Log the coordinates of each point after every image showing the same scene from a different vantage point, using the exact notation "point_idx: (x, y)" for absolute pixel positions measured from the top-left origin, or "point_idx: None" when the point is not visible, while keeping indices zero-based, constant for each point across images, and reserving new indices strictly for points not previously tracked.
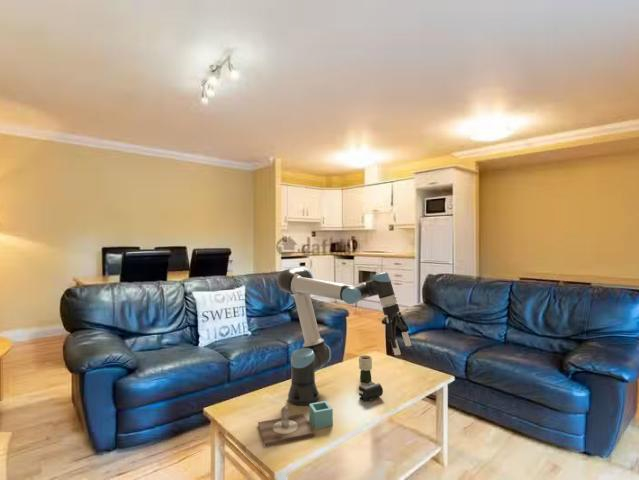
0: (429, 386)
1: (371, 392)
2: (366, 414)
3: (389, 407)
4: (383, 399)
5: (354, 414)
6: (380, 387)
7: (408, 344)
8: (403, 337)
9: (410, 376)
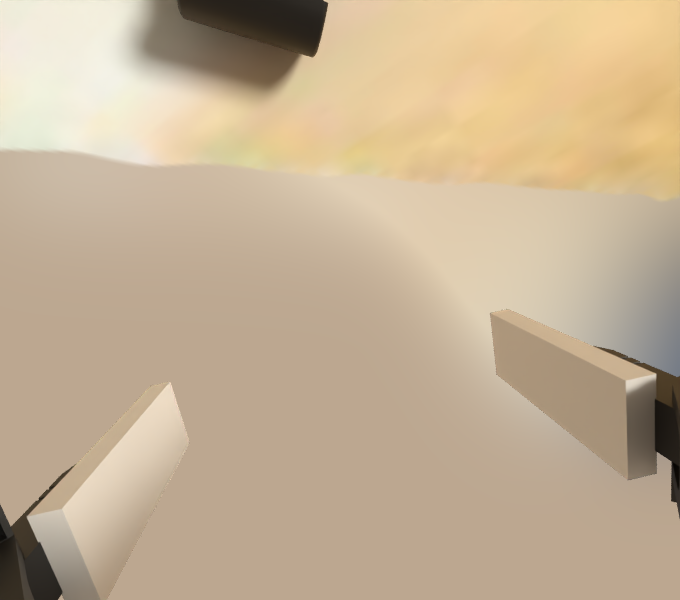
0: (557, 178)
1: (217, 21)
2: (102, 95)
3: (254, 148)
4: (303, 68)
5: (37, 36)
6: (305, 40)
7: (501, 356)
8: (559, 355)
9: (645, 28)
